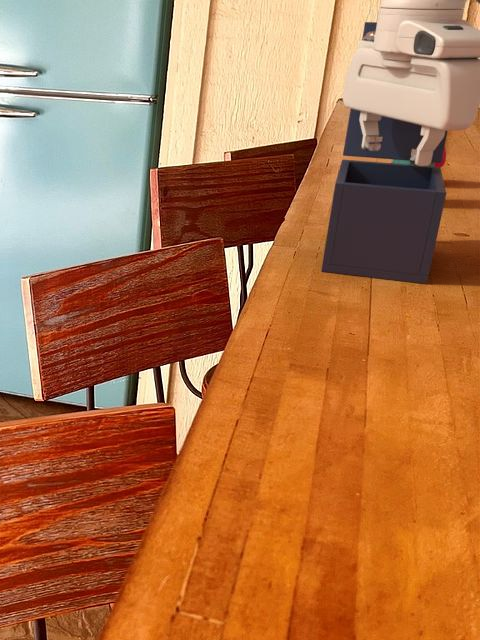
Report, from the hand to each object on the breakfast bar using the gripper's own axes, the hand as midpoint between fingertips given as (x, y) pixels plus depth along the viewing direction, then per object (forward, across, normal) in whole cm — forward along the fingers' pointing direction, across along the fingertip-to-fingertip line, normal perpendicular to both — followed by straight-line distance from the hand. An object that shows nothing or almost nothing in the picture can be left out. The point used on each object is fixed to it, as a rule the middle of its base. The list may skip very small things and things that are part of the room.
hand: (394, 157), depth 107 cm
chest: (+14, -2, +1) cm, 14 cm away
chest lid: (-6, -9, +6) cm, 13 cm away
